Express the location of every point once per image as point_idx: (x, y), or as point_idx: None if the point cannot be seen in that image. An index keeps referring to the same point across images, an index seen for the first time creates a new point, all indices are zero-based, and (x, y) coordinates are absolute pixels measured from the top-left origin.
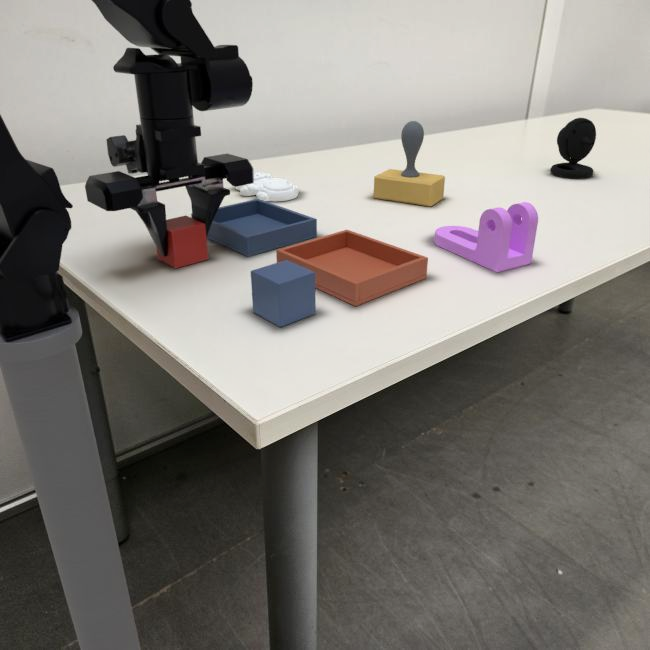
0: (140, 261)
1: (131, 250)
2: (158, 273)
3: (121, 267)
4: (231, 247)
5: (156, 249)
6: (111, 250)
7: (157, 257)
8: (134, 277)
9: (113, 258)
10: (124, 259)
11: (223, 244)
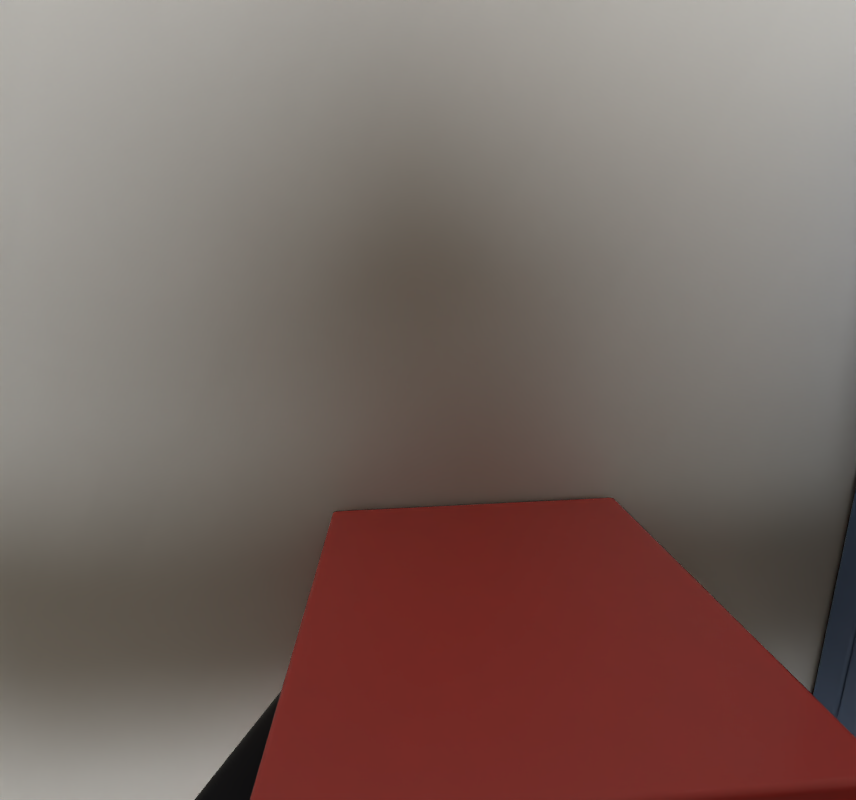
0: (204, 476)
1: (229, 169)
2: (230, 734)
3: (33, 503)
4: (833, 653)
5: (321, 557)
6: (54, 21)
7: (332, 517)
8: (69, 712)
9: (20, 266)
10: (102, 354)
11: (846, 562)
